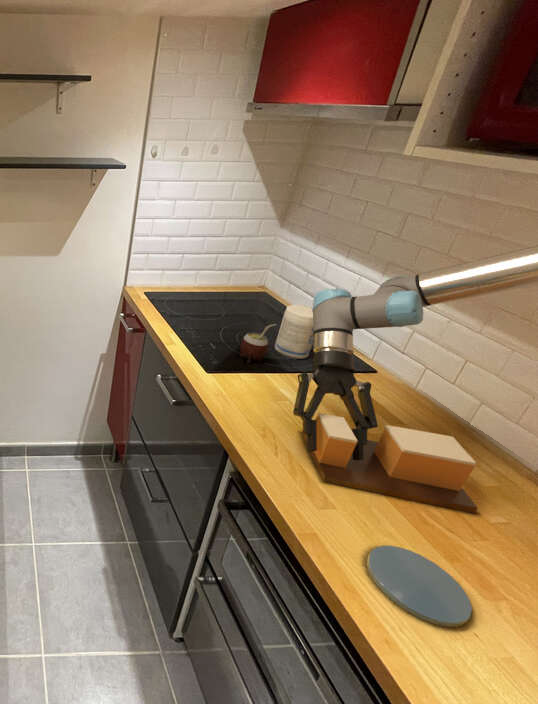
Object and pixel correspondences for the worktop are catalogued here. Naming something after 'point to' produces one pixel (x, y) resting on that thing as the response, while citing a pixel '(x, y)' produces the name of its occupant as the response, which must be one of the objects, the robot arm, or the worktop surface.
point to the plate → (419, 586)
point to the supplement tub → (296, 332)
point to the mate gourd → (254, 346)
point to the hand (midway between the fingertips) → (334, 455)
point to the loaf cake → (424, 457)
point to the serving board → (389, 481)
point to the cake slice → (334, 440)
